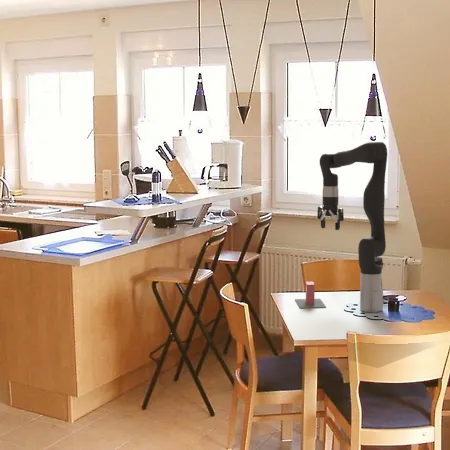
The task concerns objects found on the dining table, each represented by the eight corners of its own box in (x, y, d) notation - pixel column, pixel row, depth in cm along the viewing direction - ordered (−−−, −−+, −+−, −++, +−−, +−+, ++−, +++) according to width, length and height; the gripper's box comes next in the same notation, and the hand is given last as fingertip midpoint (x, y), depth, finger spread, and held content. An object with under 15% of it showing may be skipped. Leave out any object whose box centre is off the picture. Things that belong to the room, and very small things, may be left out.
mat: (295, 300, 365) (295, 299, 365) (320, 299, 366) (320, 298, 366) (300, 308, 349) (300, 307, 349) (326, 307, 350) (326, 306, 350)
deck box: (305, 301, 361) (305, 281, 359) (313, 301, 361) (313, 281, 359) (306, 304, 354) (306, 284, 353) (314, 304, 354) (314, 284, 353)
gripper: (313, 195, 368) (313, 228, 370) (337, 197, 357) (337, 231, 360) (323, 193, 373) (323, 226, 375) (347, 195, 362) (346, 229, 365)
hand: (330, 228), depth 367 cm, fingers open, 8 cm apart
